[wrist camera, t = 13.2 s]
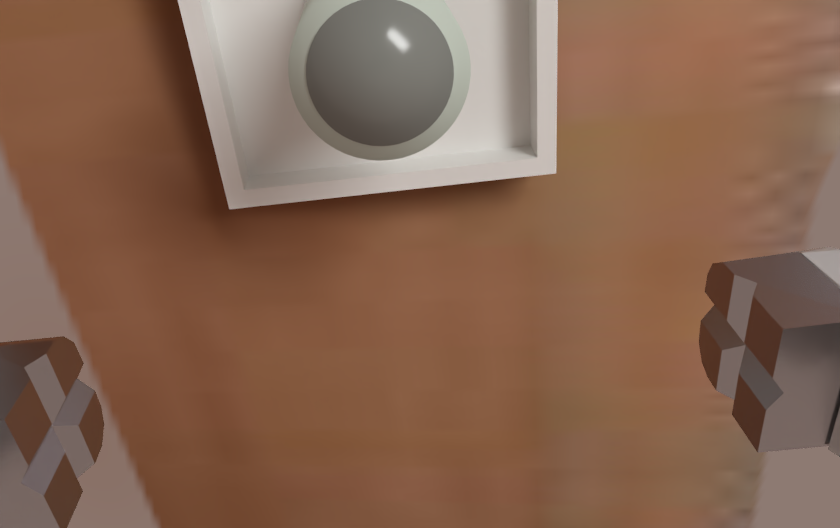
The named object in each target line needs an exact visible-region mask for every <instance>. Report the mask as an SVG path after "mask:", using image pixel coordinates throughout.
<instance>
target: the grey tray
mask: <svg viewBox="0 0 840 528" xmlns="http://www.w3.org/2000/svg"><path fill="white" fill-rule="evenodd" d="M444 1H445V3H446V4H447V6H448V8H449V9H450V11H451V13H452V14H453V16H454V18H455V19H456V21H457V23H458V25H459V26H460V28H461V30H462V32H463V35H464V37H465V40H466V43H467V46H468V50H469V55H470V64H471V77H470V84H469V90H468V94H467V97H466V100H465V103H464V105H463V108H462V110H461V112H460V114H459V115H458V117H457V119H456V120H455V122H454V123H453V124H452V126H451V127H450V128H449V130H448V131H447V132H446V133H445V134H444V135H443V136H442V137H441V138H439V139H438V140H437V141H436V142H434V143H433V144H432V145H430V146H429V147H427V148H425V149H424V150H422V151H420V152H417V153H415V154H413V155H410V156H407V157H404V158H399V159H394V160H382V161H377V160H366V159H361V158H356V157H353V156H350V155H347V154H345V153H343V152H341V151H338V150H336V149H335V148H333V147H331V146H330V145H328V144H327V143H325V142H324V141H323V140H322V139H321V138H319V137H318V136H317V135H316V134H315V133H314V132H313V131H312V130H311V129H310V128H309V126H308V125H307V123H306V122H305V121H304V119H303V118H302V116H301V114H300V113H299V111H298V109H297V107H296V104H295V102H294V99H293V97H292V93H291V89H290V84H289V76H288V61H289V54H290V48H291V45H292V41H293V38H294V35H295V32H296V29H297V26H298V23H299V20H300V17H301V14H302V11H303V8H304V5H305V2H306V0H178V4H179V8H180V12H181V16H182V20H183V24H184V28H185V32H186V36H187V40H188V44H189V48H190V52H191V57H192V61H193V65H194V69H195V73H196V77H197V81H198V85H199V89H200V93H201V97H202V101H203V105H204V109H205V113H206V117H207V121H208V125H209V129H210V133H211V138H212V142H213V146H214V150H215V154H216V158H217V162H218V166H219V170H220V174H221V178H222V182H223V186H224V190H225V194H226V198H227V202H228V206H229V209H238V208H247V207H256V206H265V205H274V204H283V203H293V202H302V201H311V200H320V199H329V198H338V197H347V196H356V195H365V194H374V193H383V192H392V191H401V190H410V189H419V188H428V187H437V186H446V185H455V184H464V183H473V182H482V181H491V180H500V179H509V178H518V177H527V176H536V175H545V174H554V173H556V134H557V23H558V0H444Z"/></svg>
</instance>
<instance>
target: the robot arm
mask: <svg viewBox="0 0 840 528" xmlns="http://www.w3.org/2000/svg"><path fill="white" fill-rule="evenodd" d="M705 293H706V294H707V295H708V297H709V298H710V299H711V301H712V302H713V303H714V306H713V307H712V308H711V310H710V311H709V312H708V313H707V314H706V315H705V316H704V318H703V319H702V320H701V325H700V335H699V346H700V353H701V360H702V364H703V366H704V369H705V371H706V374H707V377H708V378H709V380H710V381H711V383H712V385H713V386H714V388H715V389H716V391H718V392H720V393H722V394H724V395H726V396H728V397H730V398H732V399H734V405H733V411H732V415H733V417H734V418H735V420H736V421H737V423H738V424H739V425H740V427H741V428H742V430H743V431H744V433H745V434H746V436H747V437H748V439H749V440H750V442H751V443H752V445H753V446H754V448H755V449H756V451H757V452H768V451H778V450H789V449H800V448H811V447H821V446H829V447H828V449H829V450H830V451H832V452H833V453H835V454H836V455H838V456H839V457H840V249H838V248H834V247H824V248H817V249H810V250H803V251H797V252H791V253H786V254H778V255H771V256H764V257H757V258H749V259H742V260H735V261H728V262H720V263H713V264H712V266H711V268H710V270H709V272H708V275H707V281H706V287H705ZM83 364H84V363H83V361H82V359H81V357H80V355H79V352H78V350H77V348H76V346H75V344H74V342H72V341H71V340H69V339H67V338H65V337H53V338H42V339H32V340H21V341H11V342H0V528H67V526H68V524H69V522H70V519H71V517H72V515H73V512H74V510H75V508H76V506H77V503H78V501H79V499H80V497H81V494H82V492H83V491H82V488H81V486H80V484H79V482H78V480H77V478H78V477H79V476H80V475H82V474H83V473H84V472H85V471H86V470H88V469H89V468H90V467H91V466H92V465H94V464H95V462H96V459H97V457H98V454H99V452H100V449H101V447H102V440H103V429H104V428H103V427H104V421H103V415H102V409H101V405H100V402H99V400H98V397H97V395H96V392H95V391H94V390H93V389H92V388H90V387H89V386H87V385H86V384H84V383H83V382H81V381H80V380H79V379H77V377H78V375H79V373H80V370H81V368H82V366H83Z"/></svg>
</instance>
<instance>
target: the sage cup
mask: <svg viewBox="0 0 840 528" xmlns="http://www.w3.org/2000/svg"><path fill="white" fill-rule="evenodd" d="M288 76H289V84H290V89H291V93H292V97H293V99H294V102H295V104H296V107H297V109H298V111H299V113H300V114H301V116H302V118H303V119H304V121H305V122H306V123H307V125H308V126H309V128H310V129H311V130H312V131H313V132H314V133H315V134H316V135H317V136H318V137H319V138H321V139H322V140H323V141H324V142H325V143H327V144H328V145H330V146H331V147H333V148H335V149H336V150H338V151H341V152H343V153H345V154H347V155H350V156H353V157H356V158H361V159H366V160H377V161H382V160H394V159H399V158H404V157H407V156H410V155H413V154H415V153H417V152H420V151H422V150H424V149H425V148H427V147H429V146H430V145H432V144H433V143H434V142H436V141H437V140H438V139H439V138H441V137H442V136H443V135H444V134H445V133H446V132H447V131H448V130H449V128H450V127H451V126H452V124H453V123H454V122H455V120H456V119H457V117H458V115H459V114H460V112H461V110H462V108H463V105H464V103H465V100H466V97H467V94H468V90H469V84H470V77H471V64H470V55H469V50H468V46H467V43H466V40H465V37H464V35H463V32H462V30H461V28H460V26H459V25H458V23H457V21H456V19H455V18H454V16H453V14H452V13H451V11H450V9H449V8H448V6H447V4H446V3H445V1H444V0H306V2H305V5H304V8H303V11H302V14H301V17H300V20H299V23H298V26H297V29H296V32H295V35H294V38H293V41H292V45H291V48H290V54H289V61H288Z"/></svg>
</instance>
